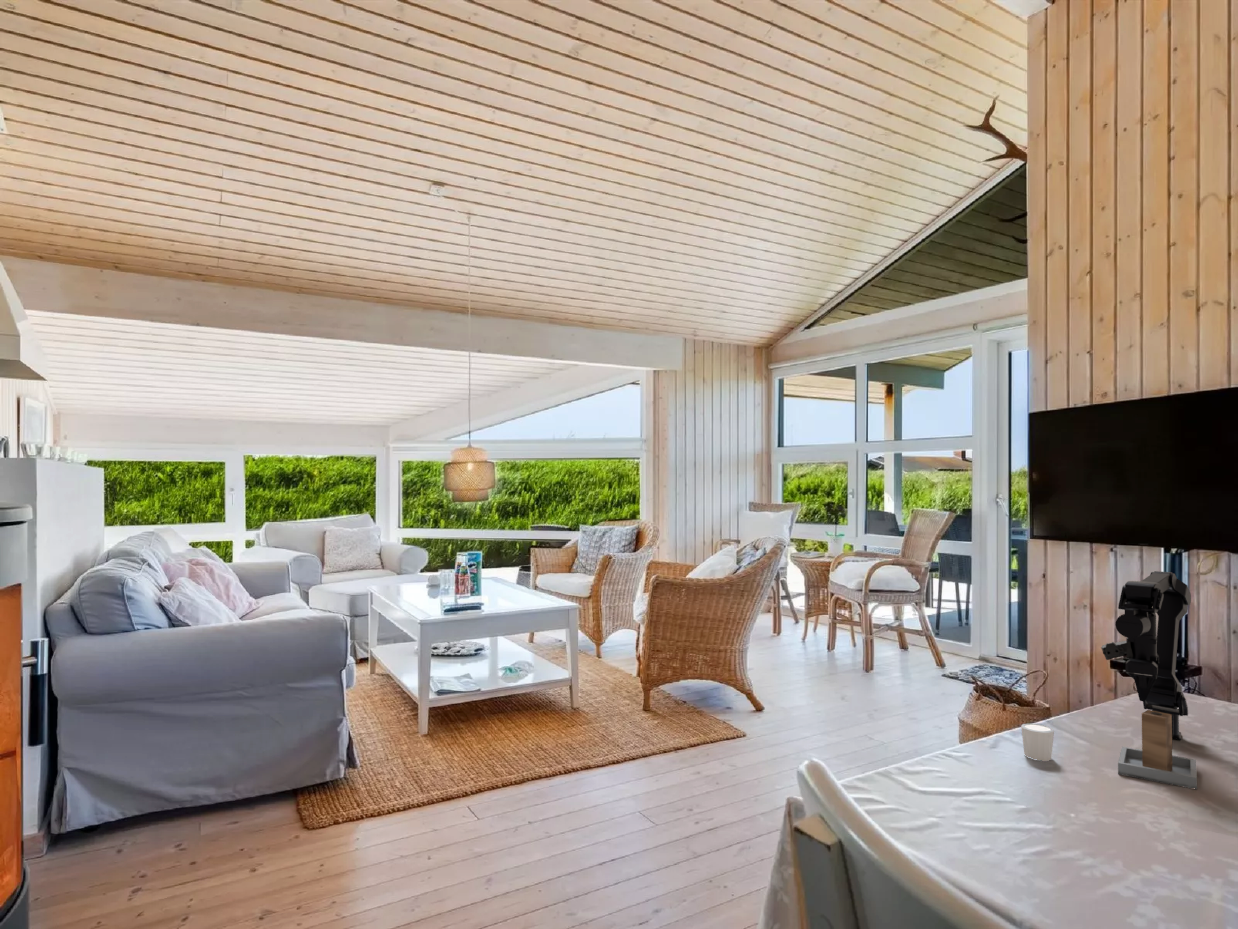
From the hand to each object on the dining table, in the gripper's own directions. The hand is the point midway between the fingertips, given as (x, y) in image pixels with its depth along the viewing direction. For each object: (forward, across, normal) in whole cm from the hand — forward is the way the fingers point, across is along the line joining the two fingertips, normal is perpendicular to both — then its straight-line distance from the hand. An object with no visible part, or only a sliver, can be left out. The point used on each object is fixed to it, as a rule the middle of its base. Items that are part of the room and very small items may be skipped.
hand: (1143, 696), depth 183 cm
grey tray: (+13, +16, +3) cm, 21 cm away
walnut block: (+12, +16, +3) cm, 20 cm away
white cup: (+13, +22, -20) cm, 33 cm away
